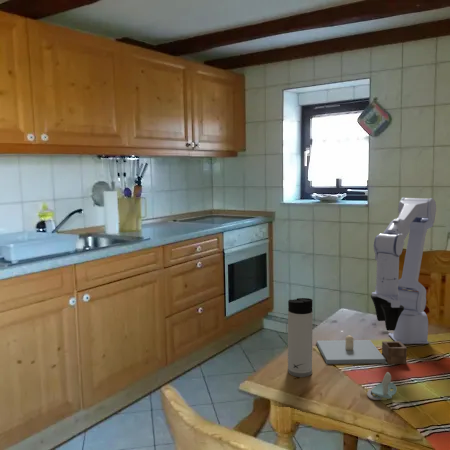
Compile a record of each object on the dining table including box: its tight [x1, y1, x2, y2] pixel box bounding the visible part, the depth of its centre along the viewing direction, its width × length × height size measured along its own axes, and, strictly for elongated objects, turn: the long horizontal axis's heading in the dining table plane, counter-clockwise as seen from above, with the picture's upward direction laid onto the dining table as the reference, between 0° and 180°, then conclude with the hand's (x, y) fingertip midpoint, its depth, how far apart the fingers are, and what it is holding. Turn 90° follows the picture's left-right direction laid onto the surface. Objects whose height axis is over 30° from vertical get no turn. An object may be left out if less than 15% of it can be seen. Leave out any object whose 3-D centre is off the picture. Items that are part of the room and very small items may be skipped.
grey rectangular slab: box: [316, 334, 387, 365], centre depth 133 cm, size 16×14×5 cm
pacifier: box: [366, 371, 398, 401], centre depth 108 cm, size 7×6×6 cm
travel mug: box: [287, 297, 314, 378], centre depth 120 cm, size 6×7×20 cm
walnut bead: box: [381, 340, 408, 365], centre depth 128 cm, size 5×5×4 cm
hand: (385, 325), depth 128 cm, fingers open, 7 cm apart
